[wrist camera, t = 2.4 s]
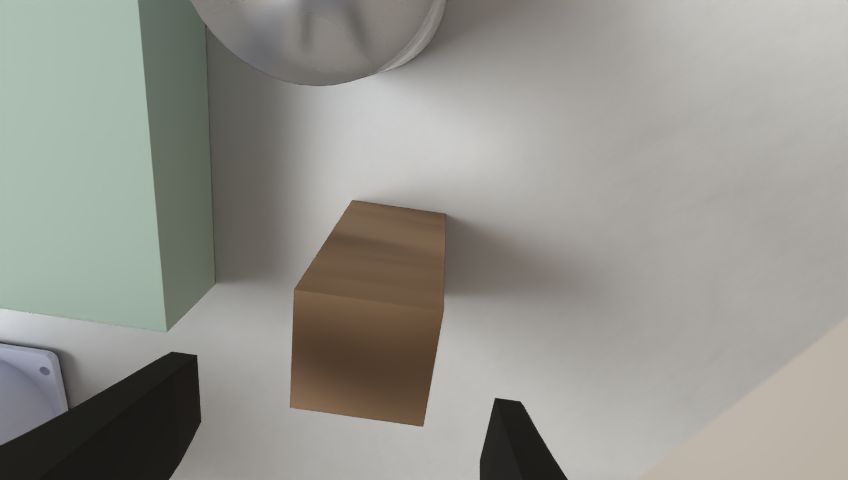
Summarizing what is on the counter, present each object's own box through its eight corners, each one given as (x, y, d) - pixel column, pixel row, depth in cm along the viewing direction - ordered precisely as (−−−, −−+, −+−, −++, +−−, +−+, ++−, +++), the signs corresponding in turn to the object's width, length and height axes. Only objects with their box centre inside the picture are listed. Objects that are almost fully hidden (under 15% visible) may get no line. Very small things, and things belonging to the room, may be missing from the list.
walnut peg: (432, 296, 21) (422, 426, 14) (345, 283, 21) (290, 407, 14) (445, 213, 20) (443, 311, 12) (352, 200, 20) (294, 289, 12)
